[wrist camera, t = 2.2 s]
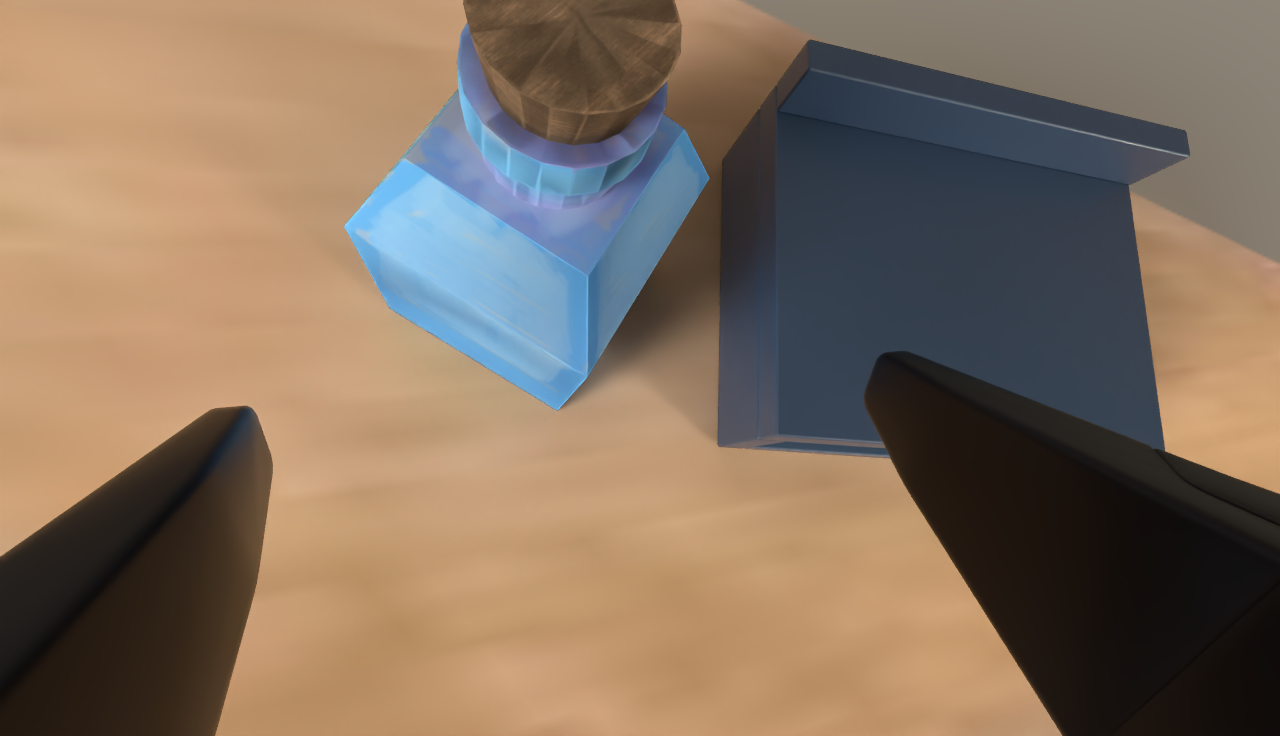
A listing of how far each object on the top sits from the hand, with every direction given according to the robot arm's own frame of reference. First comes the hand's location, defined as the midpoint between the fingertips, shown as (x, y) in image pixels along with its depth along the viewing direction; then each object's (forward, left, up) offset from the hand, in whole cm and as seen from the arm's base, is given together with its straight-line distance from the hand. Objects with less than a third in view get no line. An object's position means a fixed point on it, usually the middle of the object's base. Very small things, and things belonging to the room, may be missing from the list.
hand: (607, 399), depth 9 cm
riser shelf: (+6, -13, -11) cm, 18 cm away
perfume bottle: (+5, +1, -11) cm, 12 cm away
